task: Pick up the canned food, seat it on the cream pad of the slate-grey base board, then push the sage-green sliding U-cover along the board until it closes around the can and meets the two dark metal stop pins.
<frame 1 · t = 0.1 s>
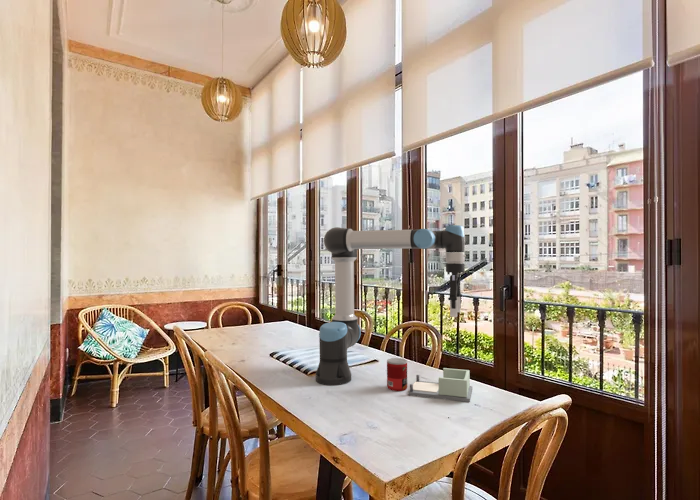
hand: (455, 314, 171), 28 cm above the table, fingers open, 13 cm apart
base: (441, 392, 158), on the table
housing: (454, 381, 157), point 4 cm above the table, slide at 0.0 cm
canned food: (397, 388, 163), on the table
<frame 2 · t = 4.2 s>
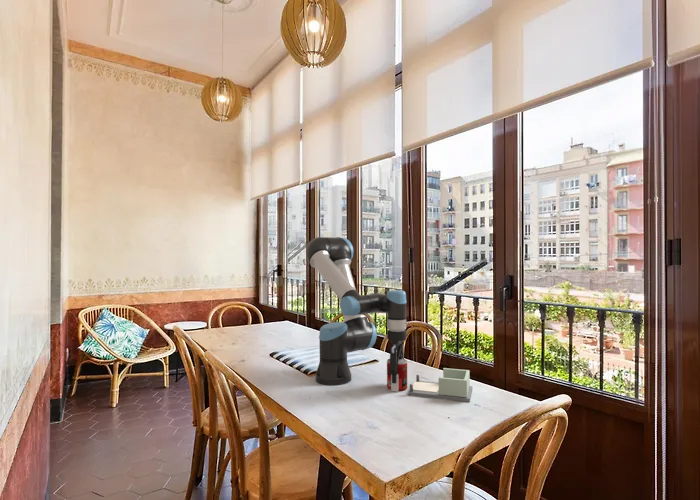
hand: (397, 387, 163), 0 cm above the table, fingers closed on canned food, 8 cm apart
canned food: (397, 388, 163), on the table, touching gripper
everything else where it was.
when the fingers open (4 cm above the table, at t = 9.2 s): canned food drops 2 cm, resting on base.
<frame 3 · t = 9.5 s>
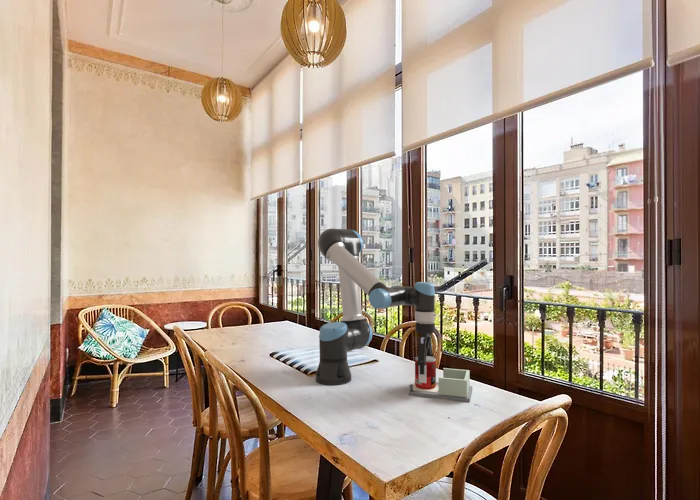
hand: (425, 377, 161), 5 cm above the table, fingers open, 12 cm apart
canned food: (425, 386, 161), point 1 cm above the table, touching base
everything else where it was.
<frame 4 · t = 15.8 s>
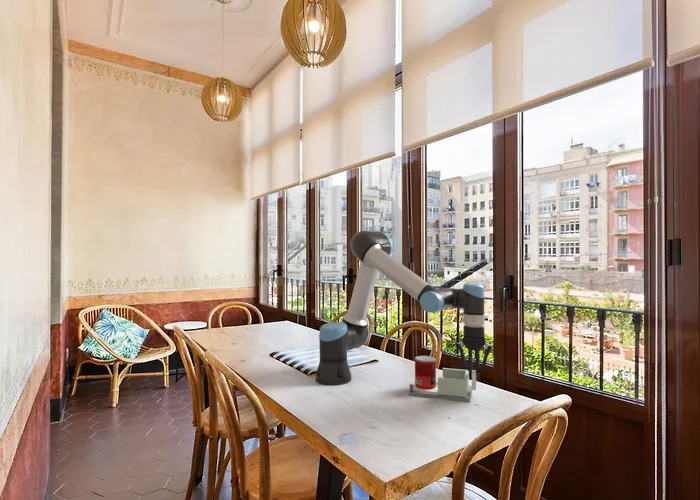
hand: (474, 388, 154), 3 cm above the table, fingers closed
housing: (453, 381, 157), point 4 cm above the table, slide at 0.2 cm, touching gripper
everything else where it was.
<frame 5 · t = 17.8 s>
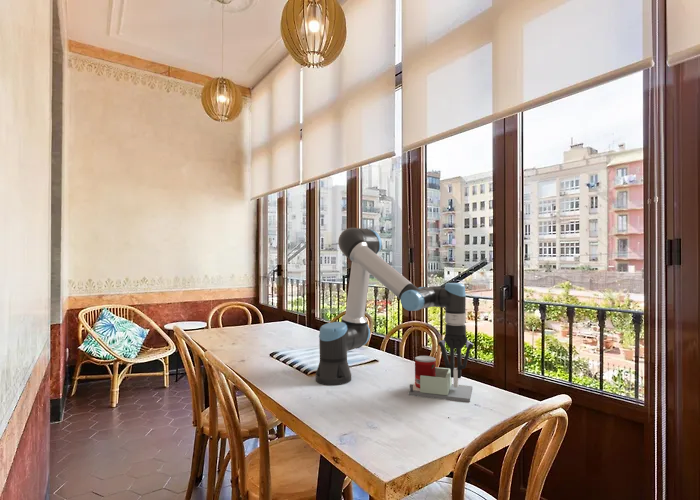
hand: (455, 386, 157), 3 cm above the table, fingers closed
housing: (436, 380, 159), point 4 cm above the table, slide at 6.8 cm, touching gripper
everything else where it was.
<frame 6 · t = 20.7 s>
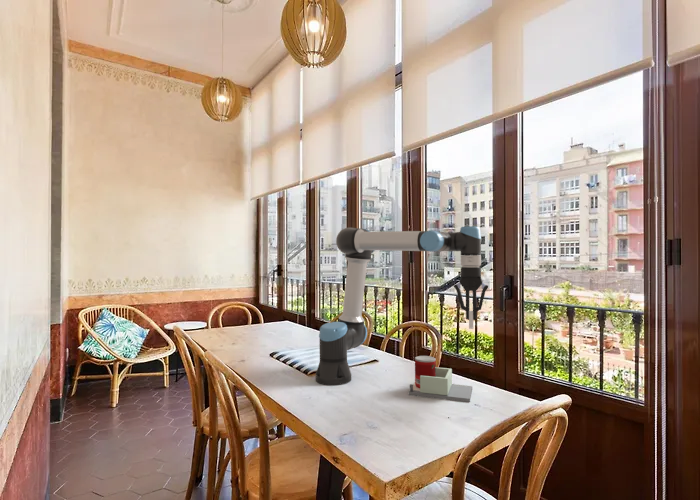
hand: (471, 328, 159), 24 cm above the table, fingers closed
housing: (436, 380, 159), point 4 cm above the table, slide at 6.8 cm
everything else where it was.
at the end: canned food 0.1 cm from the target spot on the base, point 1.3 cm above the base's base; canned food tilted 0°; housing slide at 6.8 cm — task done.
